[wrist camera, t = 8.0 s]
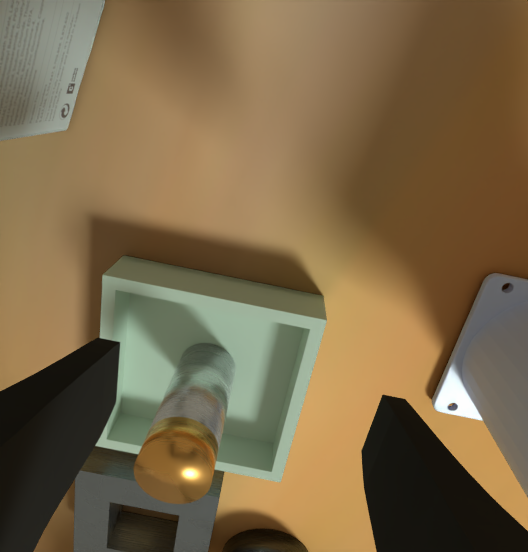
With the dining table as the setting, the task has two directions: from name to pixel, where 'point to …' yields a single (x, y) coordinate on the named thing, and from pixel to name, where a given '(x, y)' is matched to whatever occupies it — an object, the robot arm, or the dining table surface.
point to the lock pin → (187, 427)
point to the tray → (220, 331)
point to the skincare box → (43, 62)
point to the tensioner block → (148, 530)
